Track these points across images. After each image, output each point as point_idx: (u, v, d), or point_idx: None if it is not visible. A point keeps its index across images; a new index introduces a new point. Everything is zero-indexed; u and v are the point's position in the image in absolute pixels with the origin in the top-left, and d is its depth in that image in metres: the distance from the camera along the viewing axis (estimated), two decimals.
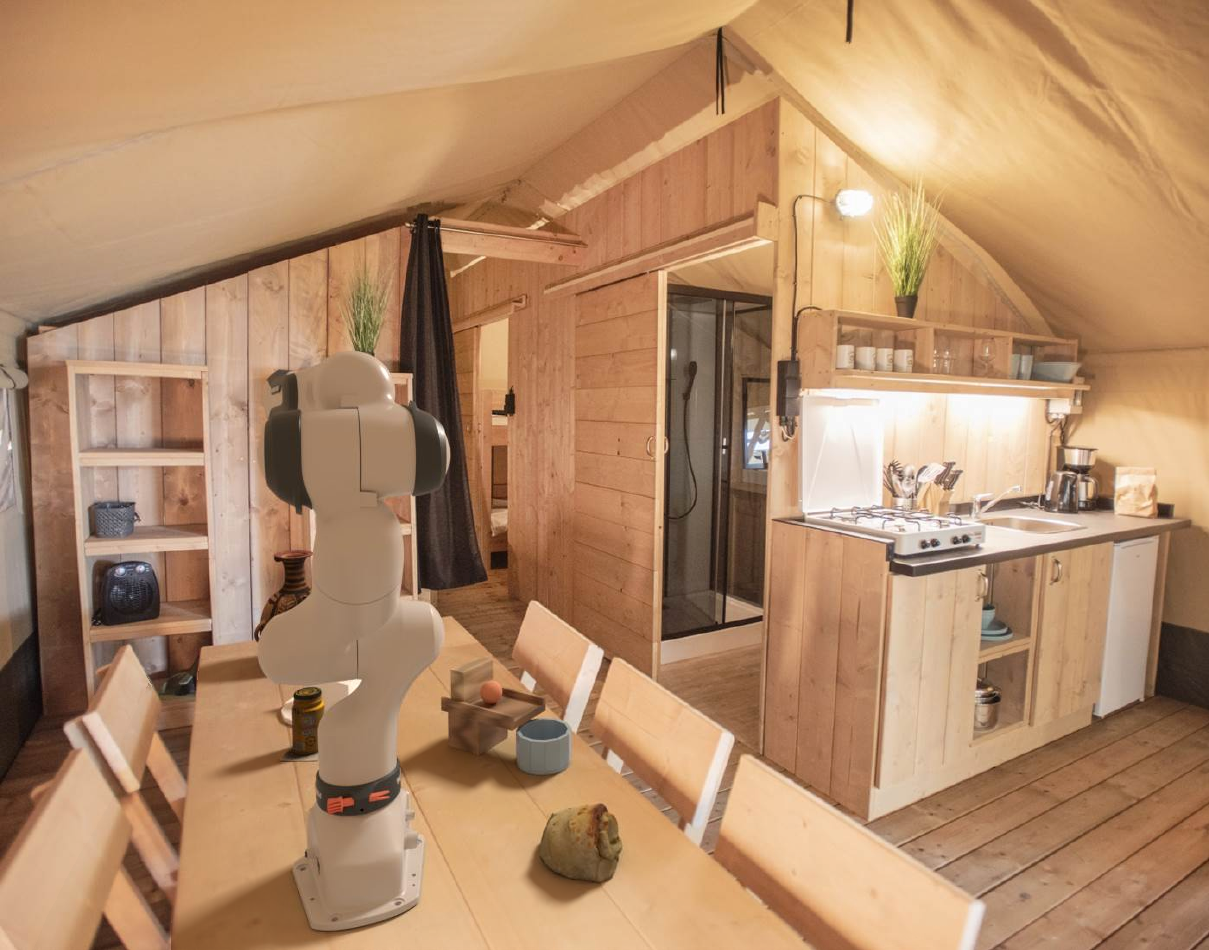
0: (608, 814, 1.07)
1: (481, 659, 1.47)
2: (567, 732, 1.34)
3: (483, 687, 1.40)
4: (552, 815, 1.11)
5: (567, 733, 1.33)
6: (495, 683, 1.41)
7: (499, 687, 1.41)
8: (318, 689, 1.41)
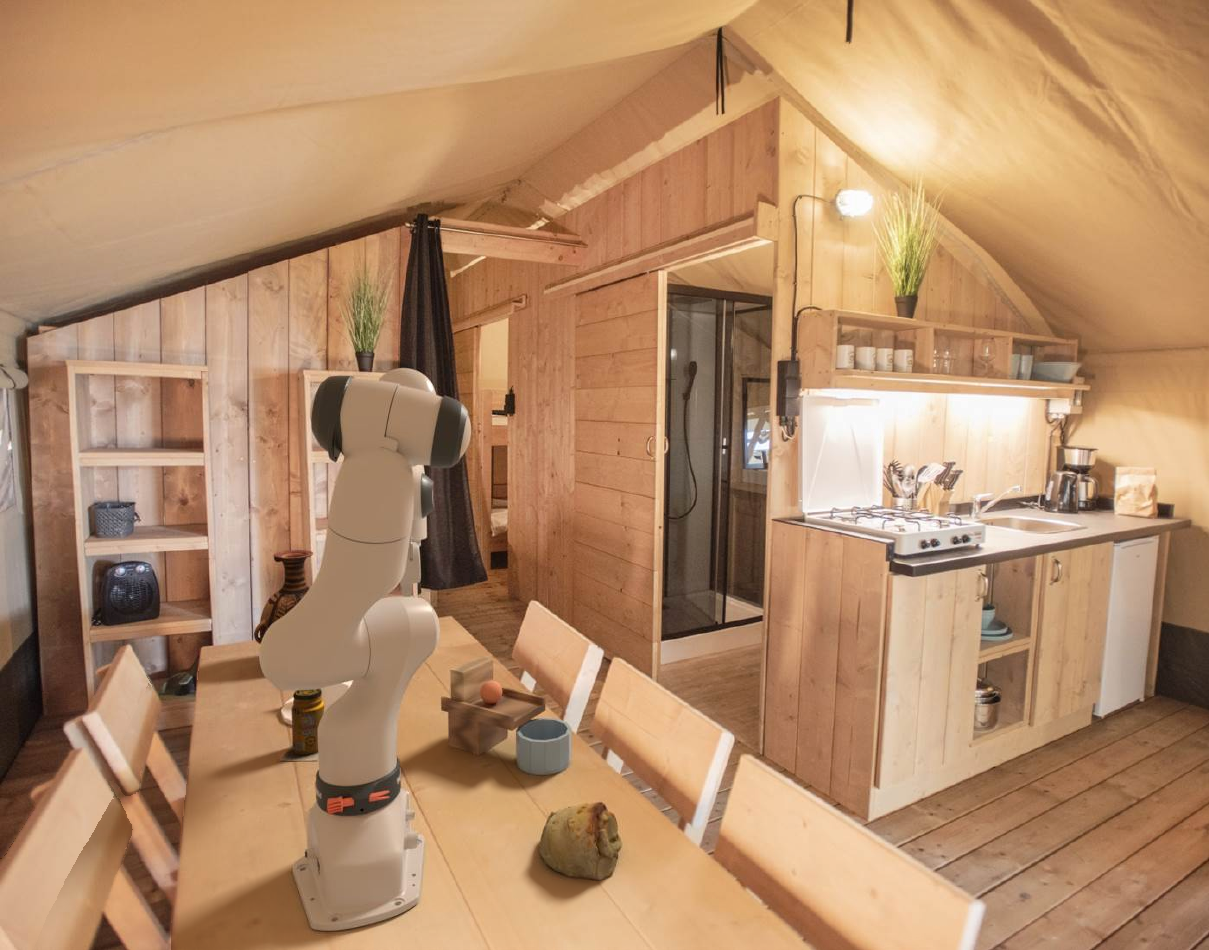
0: (607, 812, 1.08)
1: (481, 659, 1.47)
2: (567, 732, 1.34)
3: (483, 687, 1.40)
4: (551, 814, 1.11)
5: (567, 733, 1.33)
6: (495, 683, 1.41)
7: (499, 687, 1.41)
8: (318, 689, 1.41)
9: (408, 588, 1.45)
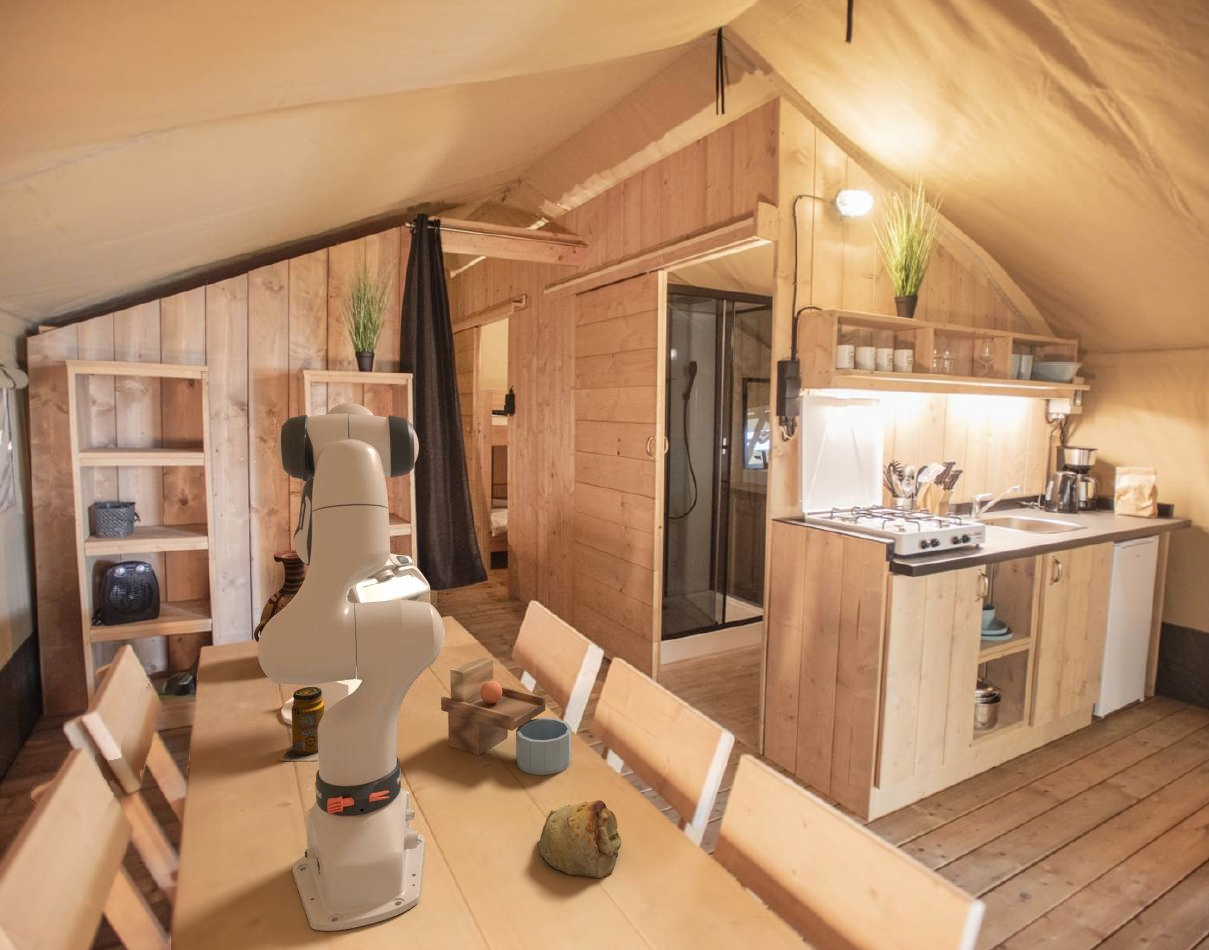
0: (607, 811, 1.08)
1: (481, 659, 1.47)
2: (567, 732, 1.34)
3: (483, 687, 1.40)
4: (551, 812, 1.12)
5: (567, 733, 1.33)
6: (495, 683, 1.41)
7: (499, 687, 1.41)
8: (318, 689, 1.41)
9: None
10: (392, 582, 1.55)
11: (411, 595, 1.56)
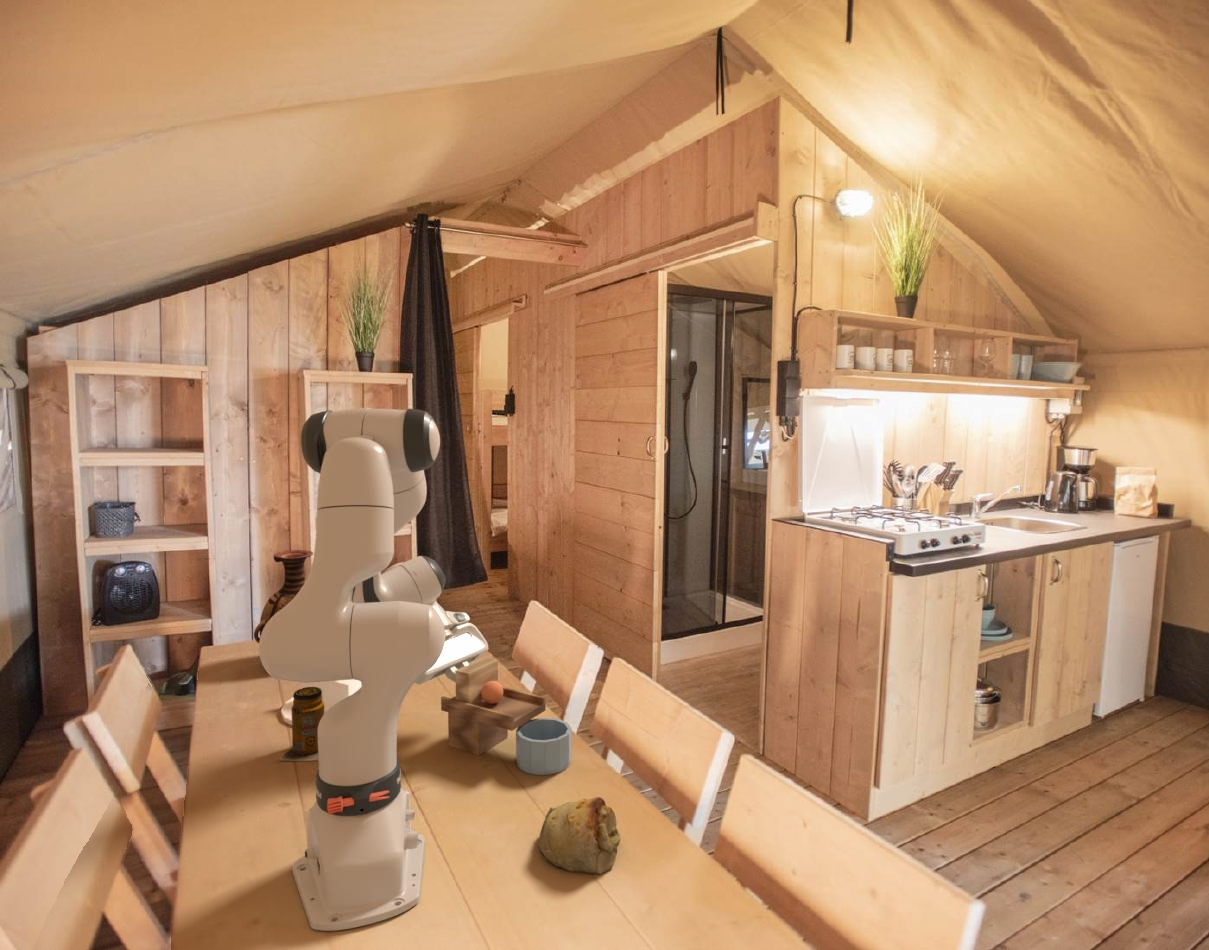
0: (606, 807, 1.09)
1: (486, 659, 1.46)
2: (567, 732, 1.34)
3: (485, 687, 1.40)
4: (550, 809, 1.12)
5: (567, 733, 1.33)
6: (497, 684, 1.41)
7: (500, 688, 1.41)
8: (318, 689, 1.41)
9: None
10: (451, 642, 1.48)
11: (470, 656, 1.48)
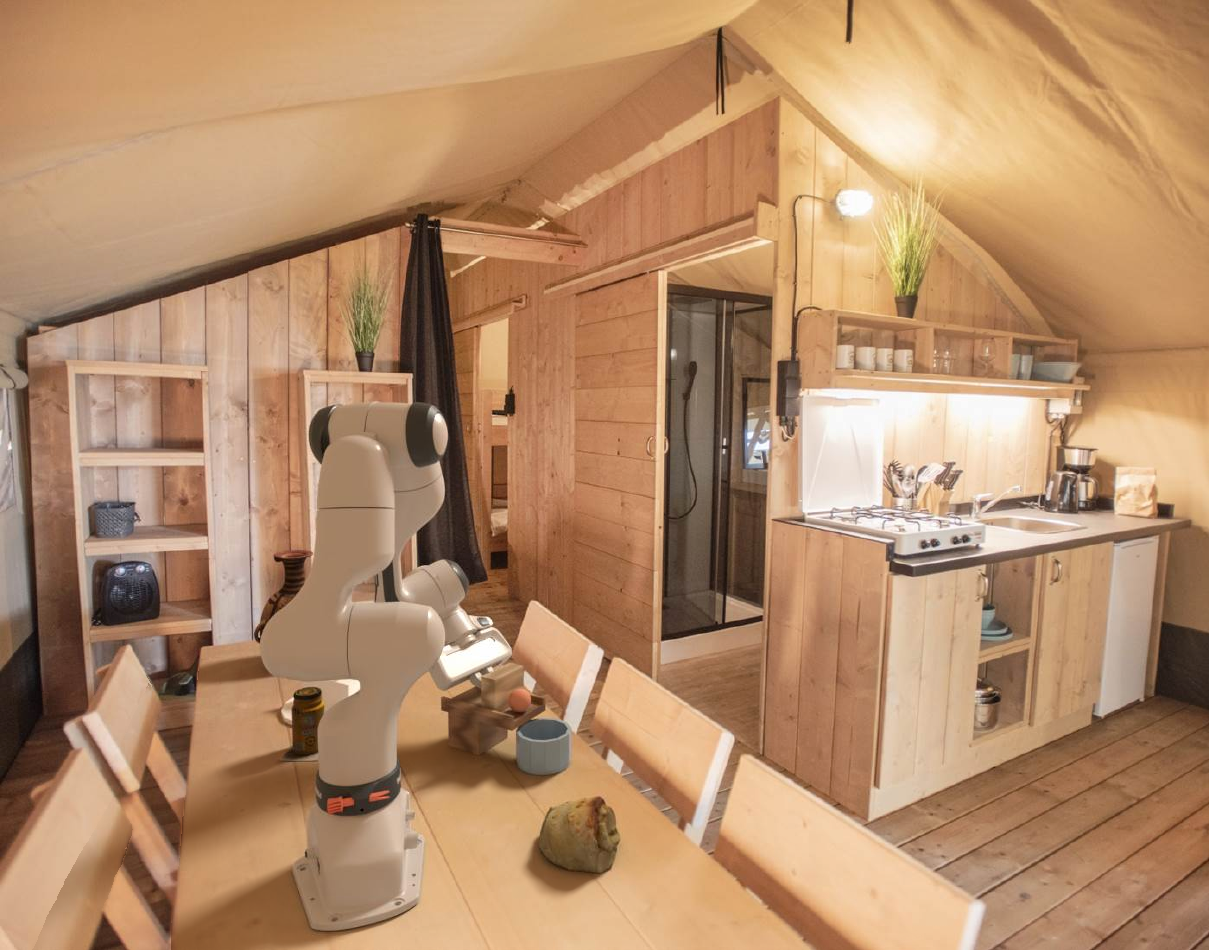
0: (606, 807, 1.09)
1: (511, 665, 1.43)
2: (567, 732, 1.34)
3: (515, 710, 1.36)
4: (550, 809, 1.13)
5: (567, 733, 1.33)
6: None
7: None
8: (318, 689, 1.41)
9: None
10: (475, 647, 1.44)
11: (494, 661, 1.45)
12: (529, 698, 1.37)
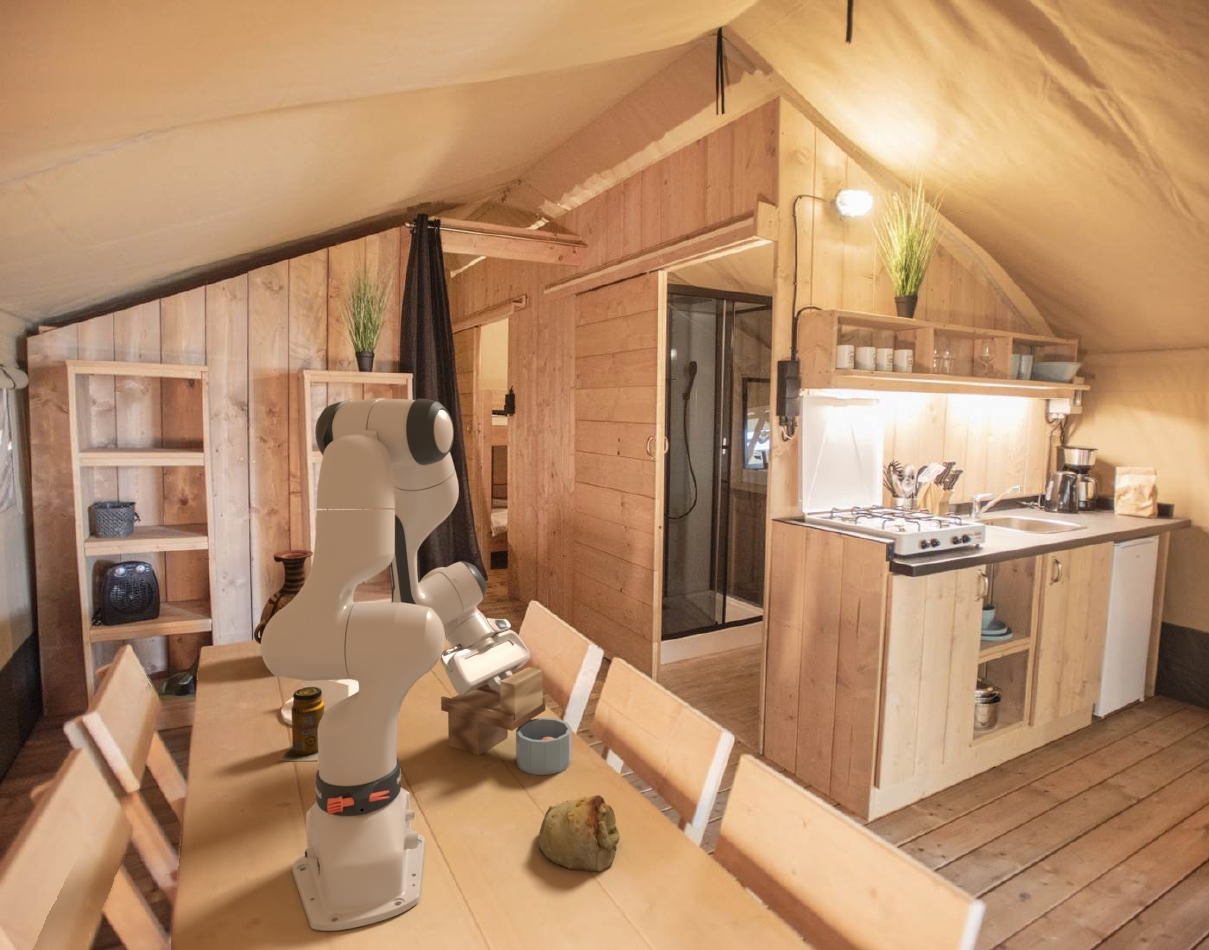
0: (605, 805, 1.09)
1: (530, 669, 1.41)
2: (567, 732, 1.34)
3: None
4: (550, 808, 1.13)
5: (567, 733, 1.33)
6: None
7: None
8: (318, 689, 1.41)
9: None
10: (493, 650, 1.42)
11: (513, 664, 1.43)
12: None
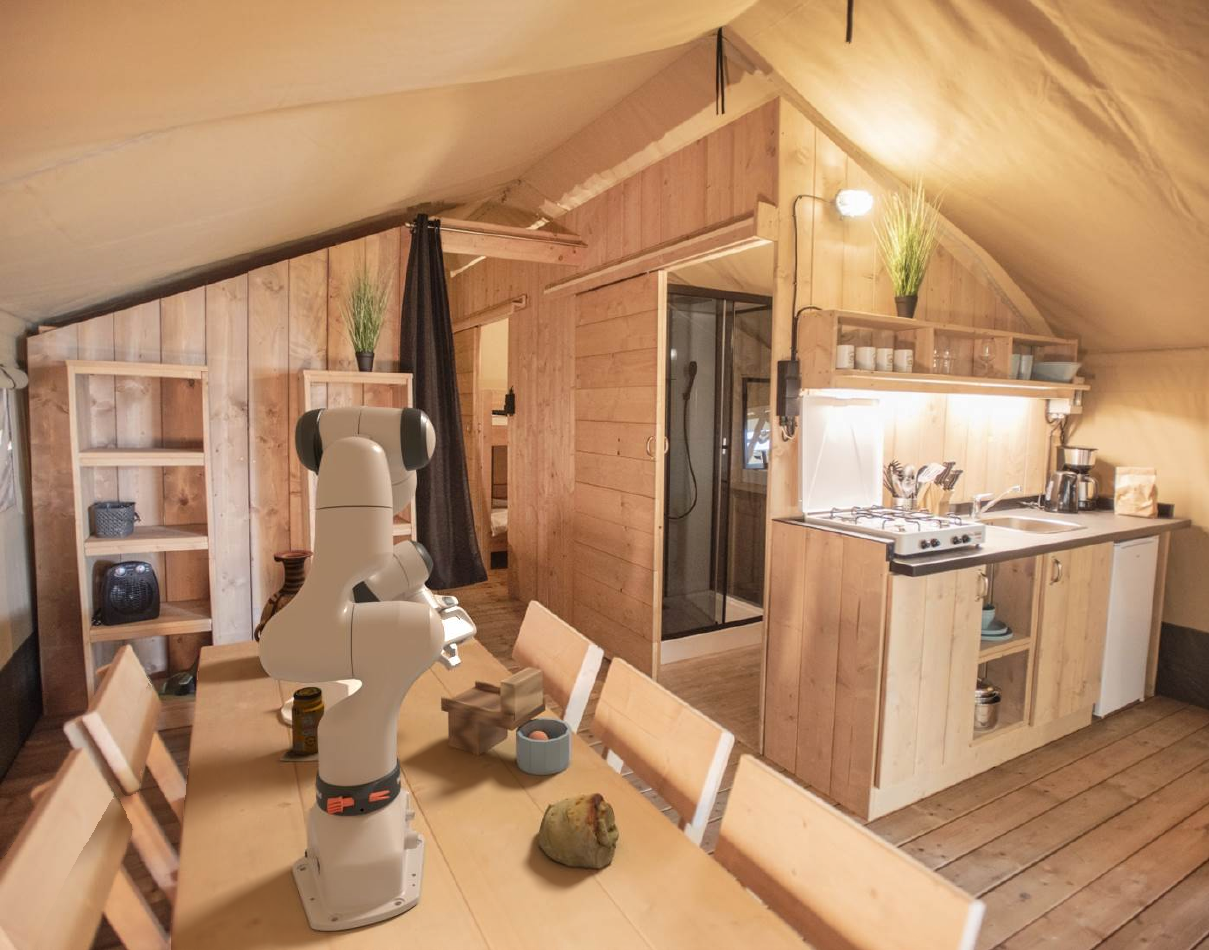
0: (605, 803, 1.10)
1: (530, 669, 1.41)
2: (567, 732, 1.34)
3: (528, 737, 1.37)
4: (549, 806, 1.13)
5: (567, 733, 1.33)
6: (539, 731, 1.38)
7: (543, 733, 1.37)
8: (318, 689, 1.41)
9: (445, 661, 1.45)
10: None
11: (458, 638, 1.50)
12: None
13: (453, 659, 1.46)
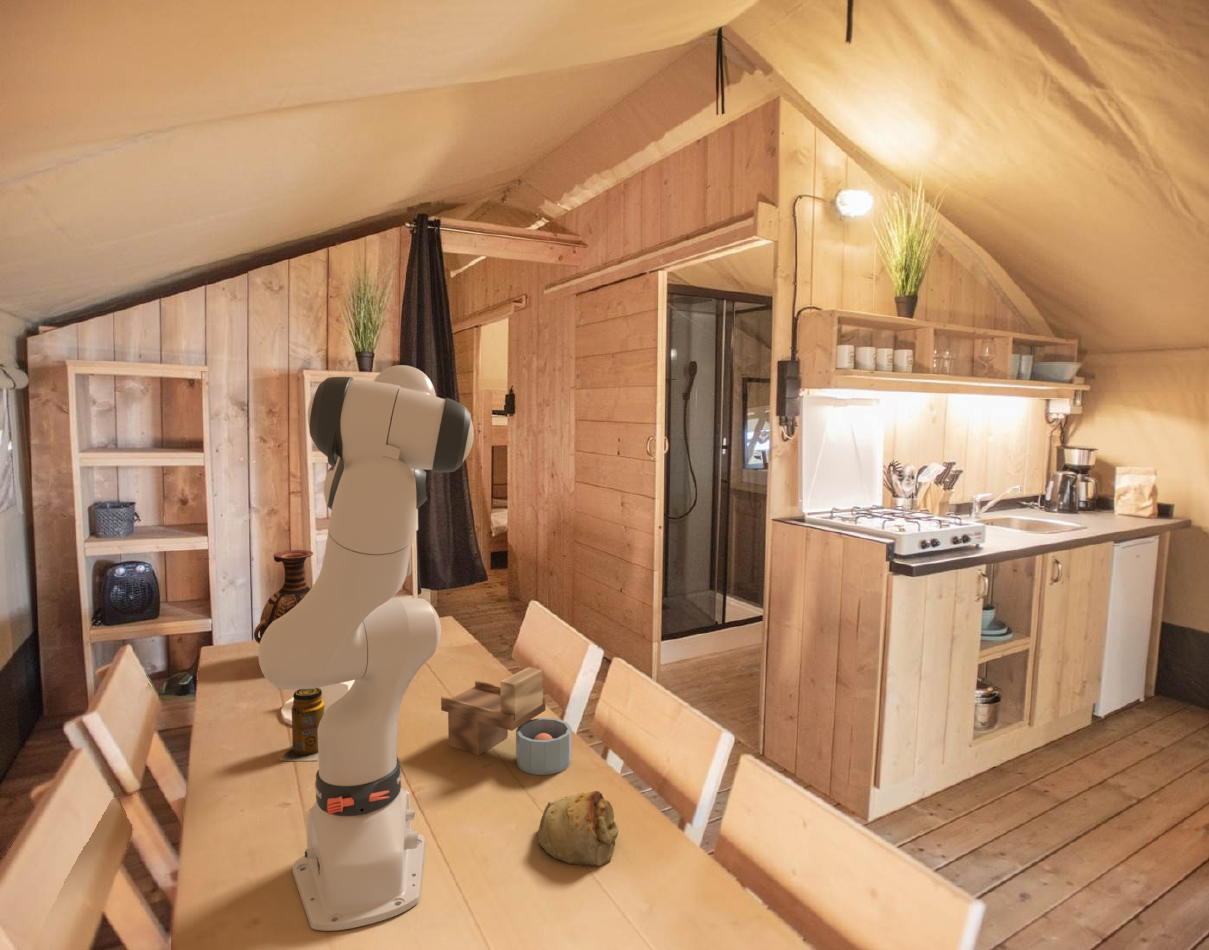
0: (604, 801, 1.11)
1: (530, 669, 1.41)
2: (567, 732, 1.34)
3: (537, 736, 1.36)
4: (549, 804, 1.14)
5: (567, 733, 1.33)
6: (550, 736, 1.36)
7: None
8: (318, 689, 1.41)
9: None
10: None
11: None
12: None
13: None
